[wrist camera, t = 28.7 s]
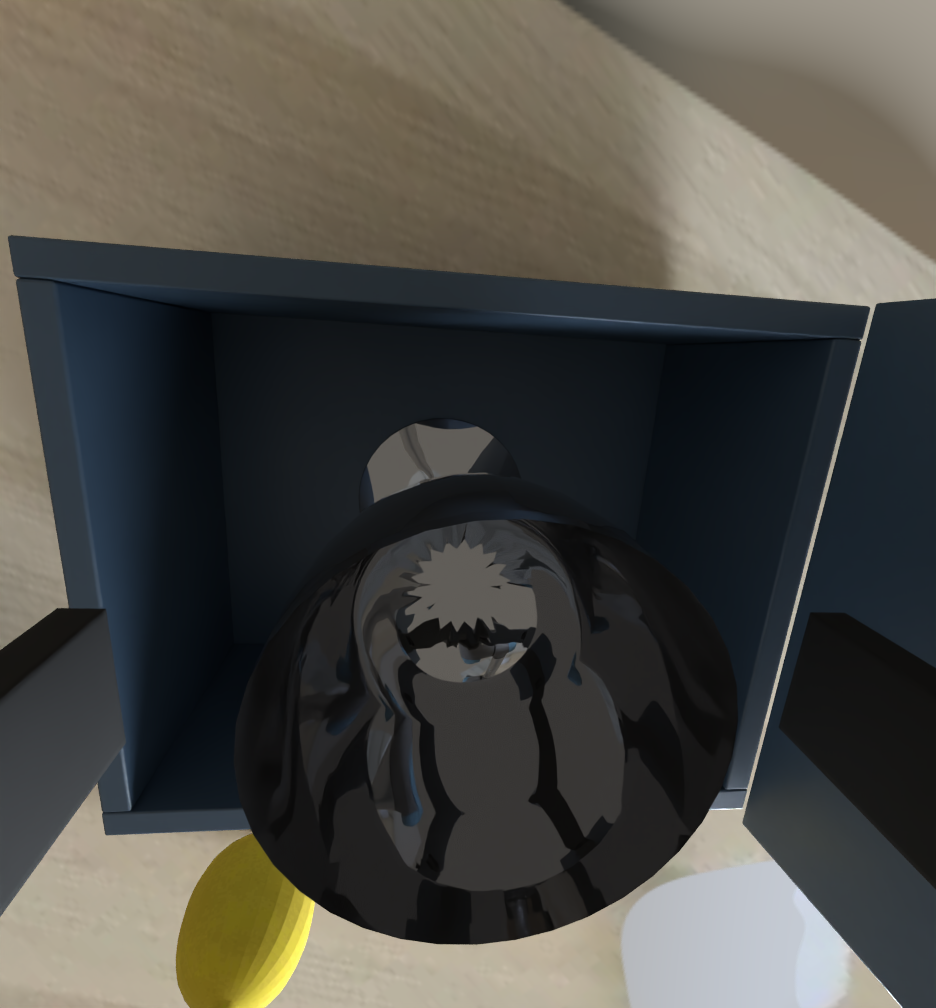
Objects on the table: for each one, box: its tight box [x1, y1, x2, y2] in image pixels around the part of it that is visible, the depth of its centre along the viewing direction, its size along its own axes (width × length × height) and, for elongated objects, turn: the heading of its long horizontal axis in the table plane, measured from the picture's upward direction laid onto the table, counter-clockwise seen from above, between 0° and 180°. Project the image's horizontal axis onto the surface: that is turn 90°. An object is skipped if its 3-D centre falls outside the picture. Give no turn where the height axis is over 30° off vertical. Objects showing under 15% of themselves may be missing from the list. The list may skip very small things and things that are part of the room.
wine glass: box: [233, 418, 738, 944], centre depth 15 cm, size 8×8×15 cm
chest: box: [8, 235, 870, 835], centre depth 19 cm, size 20×16×10 cm
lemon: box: [176, 834, 314, 1008], centre depth 24 cm, size 6×6×8 cm
